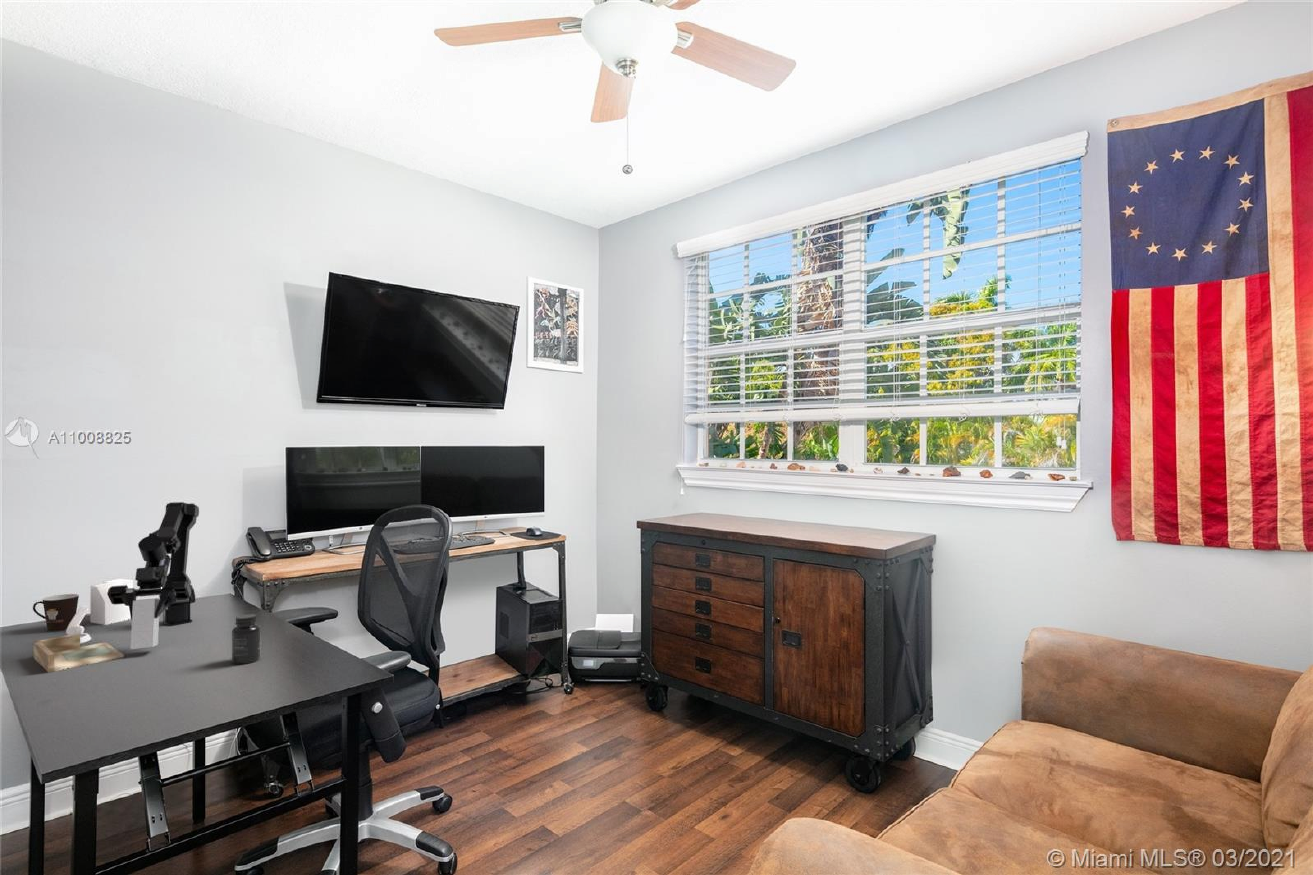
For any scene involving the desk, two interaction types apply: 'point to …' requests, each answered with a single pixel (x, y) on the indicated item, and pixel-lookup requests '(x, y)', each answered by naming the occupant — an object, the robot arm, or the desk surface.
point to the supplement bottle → (246, 640)
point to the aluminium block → (144, 623)
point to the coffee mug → (58, 611)
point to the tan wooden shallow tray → (71, 653)
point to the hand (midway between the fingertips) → (144, 618)
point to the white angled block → (108, 603)
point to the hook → (74, 625)
